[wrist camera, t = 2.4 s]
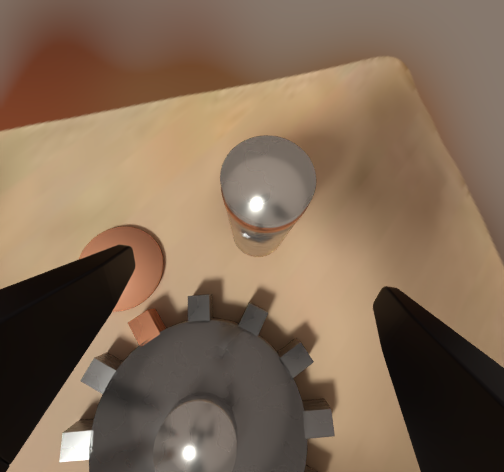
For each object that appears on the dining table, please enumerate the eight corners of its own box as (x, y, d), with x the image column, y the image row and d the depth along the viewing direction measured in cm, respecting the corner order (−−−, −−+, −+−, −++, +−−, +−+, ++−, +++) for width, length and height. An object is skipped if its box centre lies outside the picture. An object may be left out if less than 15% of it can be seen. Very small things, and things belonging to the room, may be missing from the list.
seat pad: (174, 289, 19) (173, 289, 18) (90, 326, 18) (88, 326, 18) (148, 215, 20) (147, 214, 20) (69, 246, 19) (66, 245, 19)
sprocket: (363, 527, 15) (390, 583, 12) (91, 634, 14) (50, 726, 11) (284, 270, 19) (291, 266, 16) (67, 330, 18) (31, 338, 15)
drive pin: (291, 245, 20) (334, 201, 10) (244, 265, 19) (242, 240, 10) (270, 201, 21) (290, 122, 11) (224, 219, 20) (204, 154, 11)
